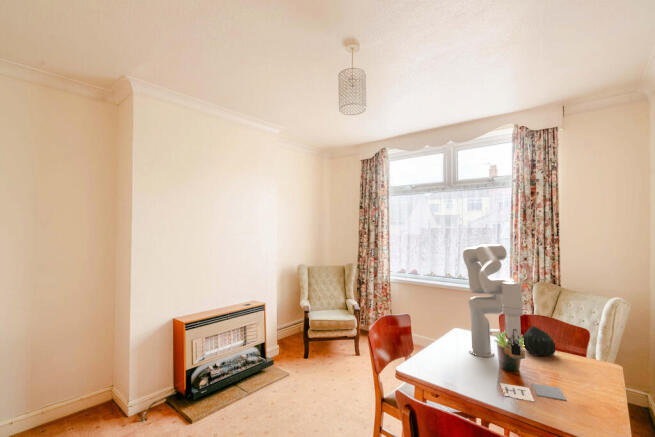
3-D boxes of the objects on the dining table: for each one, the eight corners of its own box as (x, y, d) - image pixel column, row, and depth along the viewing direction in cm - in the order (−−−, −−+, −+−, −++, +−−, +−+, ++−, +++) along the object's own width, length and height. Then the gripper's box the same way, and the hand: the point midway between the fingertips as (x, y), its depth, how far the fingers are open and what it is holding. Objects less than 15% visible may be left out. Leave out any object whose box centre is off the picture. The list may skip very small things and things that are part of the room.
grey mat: (532, 384, 135) (532, 383, 135) (559, 388, 130) (559, 387, 130) (537, 395, 125) (537, 394, 125) (566, 400, 121) (566, 399, 121)
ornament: (528, 359, 126) (527, 335, 126) (515, 360, 125) (514, 336, 125) (513, 351, 134) (512, 329, 134) (501, 353, 133) (500, 330, 133)
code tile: (500, 383, 136) (500, 382, 136) (528, 388, 131) (528, 387, 131) (503, 396, 126) (503, 395, 126) (534, 401, 121) (534, 401, 121)
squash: (559, 352, 154) (552, 324, 164) (525, 349, 161) (520, 322, 170) (555, 362, 163) (549, 335, 173) (523, 359, 170) (519, 333, 179)
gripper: (500, 304, 139) (501, 342, 139) (505, 315, 123) (507, 357, 123) (519, 305, 136) (520, 344, 136) (526, 316, 120) (528, 360, 120)
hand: (514, 350), depth 129 cm, fingers closed on ornament, 8 cm apart
